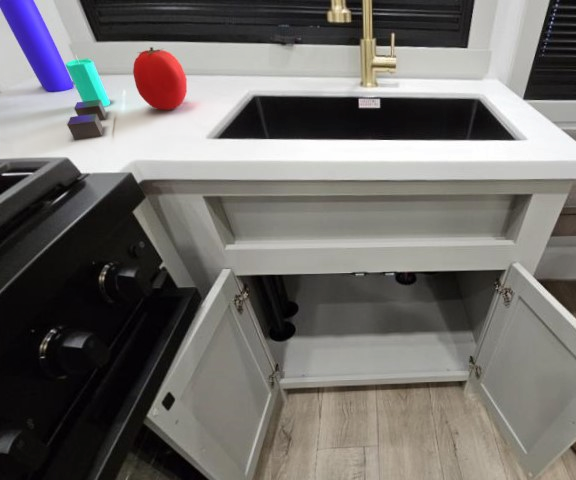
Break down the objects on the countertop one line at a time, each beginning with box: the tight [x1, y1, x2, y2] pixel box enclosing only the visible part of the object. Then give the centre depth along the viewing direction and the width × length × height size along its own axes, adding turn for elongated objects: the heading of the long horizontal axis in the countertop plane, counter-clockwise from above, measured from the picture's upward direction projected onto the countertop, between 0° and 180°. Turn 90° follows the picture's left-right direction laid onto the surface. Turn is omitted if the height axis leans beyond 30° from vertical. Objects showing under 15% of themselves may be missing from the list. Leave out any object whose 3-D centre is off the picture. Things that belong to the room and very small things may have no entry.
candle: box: [64, 54, 111, 107], centre depth 81 cm, size 6×6×12 cm
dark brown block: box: [73, 100, 107, 121], centre depth 76 cm, size 5×5×4 cm
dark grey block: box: [66, 114, 104, 141], centre depth 68 cm, size 5×5×4 cm
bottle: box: [0, 0, 74, 93], centre depth 90 cm, size 8×8×30 cm
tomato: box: [132, 46, 188, 111], centre depth 79 cm, size 12×12×13 cm
